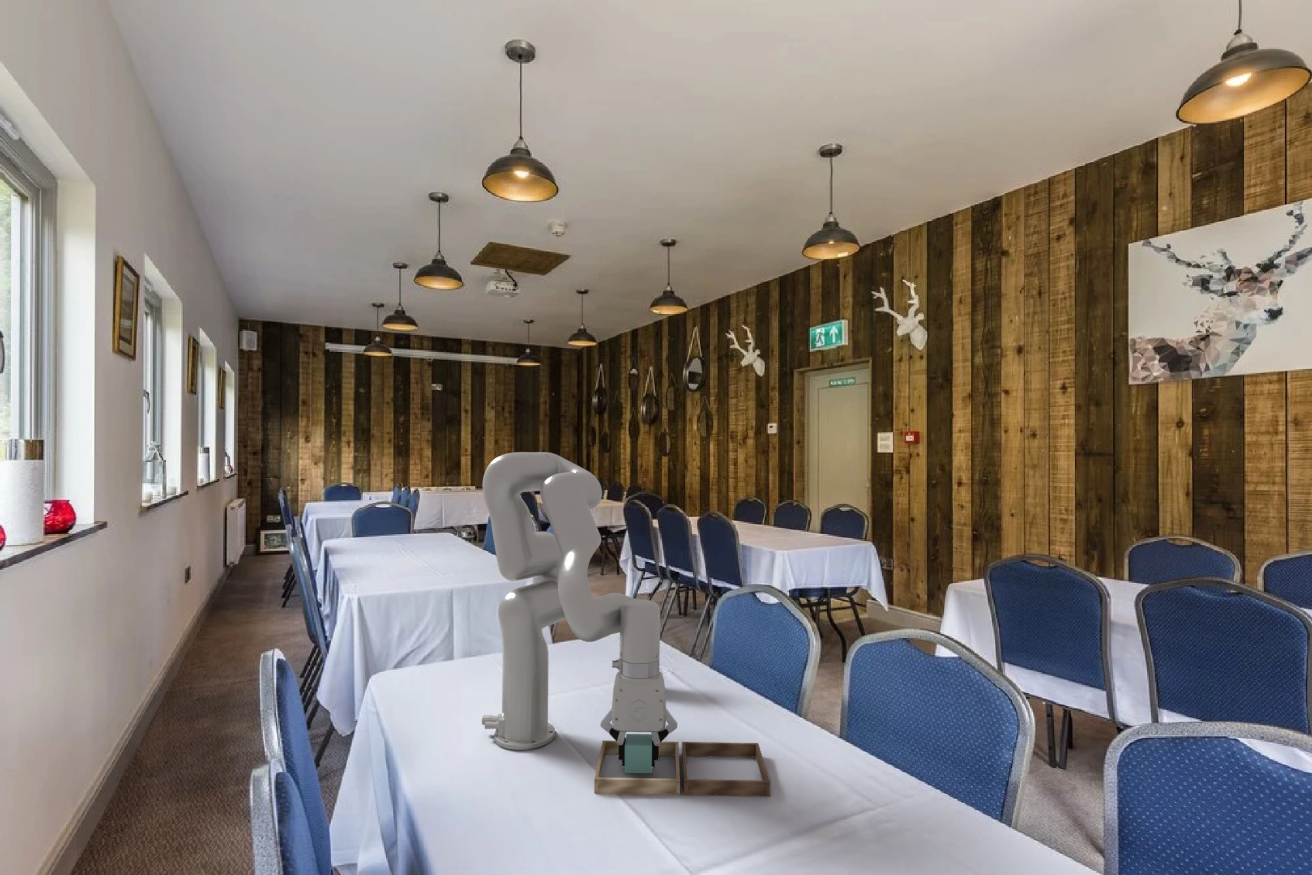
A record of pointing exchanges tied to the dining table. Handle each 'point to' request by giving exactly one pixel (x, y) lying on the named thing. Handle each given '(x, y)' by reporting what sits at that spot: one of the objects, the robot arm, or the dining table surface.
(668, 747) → the oak tray
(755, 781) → the walnut tray
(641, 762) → the teal cube
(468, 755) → the dining table surface
